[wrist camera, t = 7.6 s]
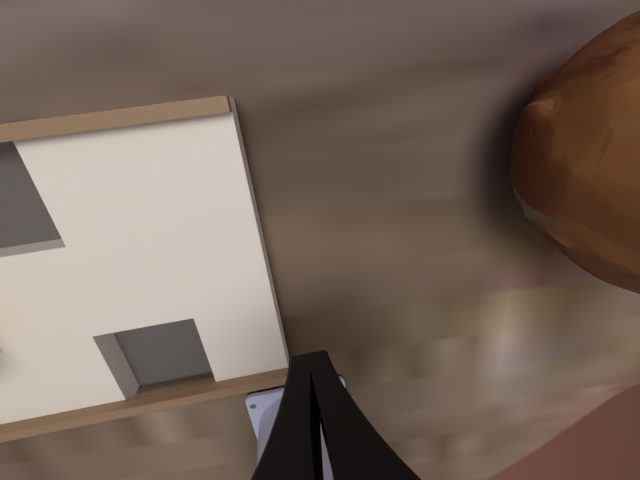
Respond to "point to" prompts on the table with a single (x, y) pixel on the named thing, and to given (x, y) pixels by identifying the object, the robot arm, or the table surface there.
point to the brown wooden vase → (587, 156)
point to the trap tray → (130, 266)
